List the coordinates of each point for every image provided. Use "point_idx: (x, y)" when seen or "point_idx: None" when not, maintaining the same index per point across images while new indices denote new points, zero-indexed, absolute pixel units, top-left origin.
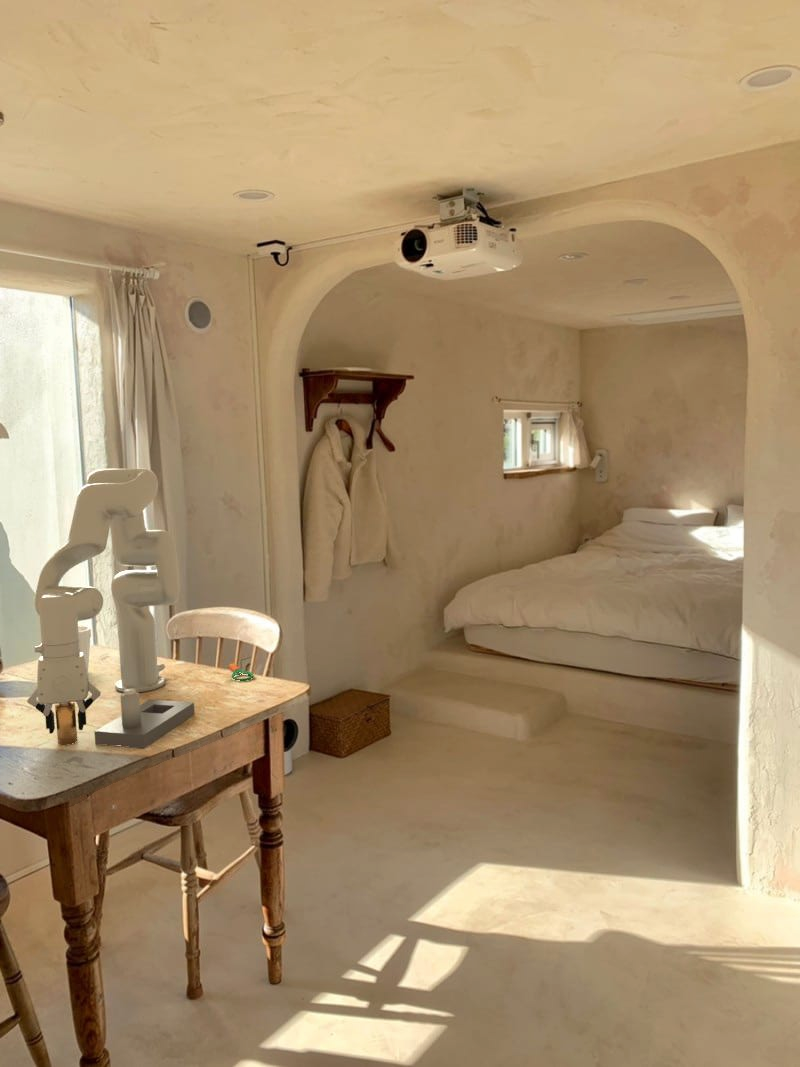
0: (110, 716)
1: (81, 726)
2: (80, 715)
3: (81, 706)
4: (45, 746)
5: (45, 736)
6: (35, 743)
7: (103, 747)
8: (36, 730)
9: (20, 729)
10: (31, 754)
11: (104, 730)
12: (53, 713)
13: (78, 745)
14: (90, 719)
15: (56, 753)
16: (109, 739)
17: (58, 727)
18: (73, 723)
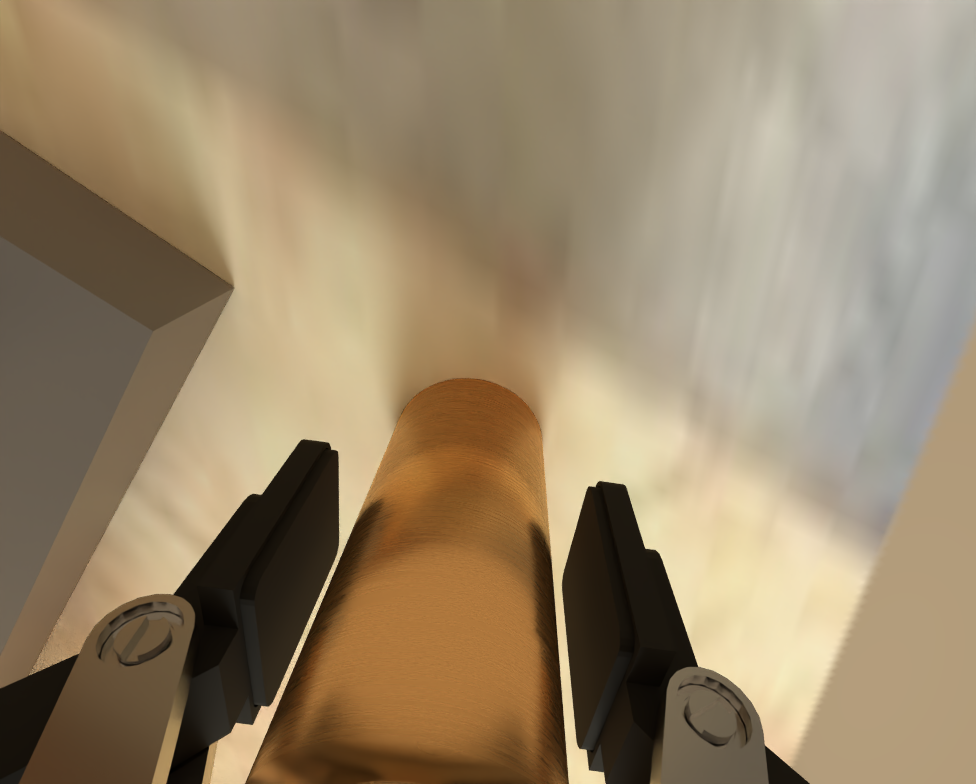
0: None
1: (291, 457)
2: (226, 555)
3: (114, 693)
4: (638, 432)
5: None
6: (696, 521)
7: (140, 168)
8: None
9: None
10: (781, 298)
11: (36, 299)
12: (582, 730)
13: (380, 333)
14: None
15: (571, 213)
16: (31, 192)
17: (534, 511)
18: (366, 512)
